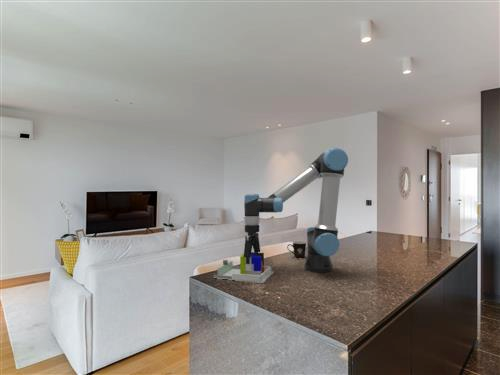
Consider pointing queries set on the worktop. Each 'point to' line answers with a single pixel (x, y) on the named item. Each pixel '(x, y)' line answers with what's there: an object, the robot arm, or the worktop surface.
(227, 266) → the gate
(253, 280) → the housing
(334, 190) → the robot arm
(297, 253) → the coffee mug
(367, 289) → the worktop surface
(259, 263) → the puzzle toy
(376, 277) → the worktop surface
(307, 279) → the worktop surface
